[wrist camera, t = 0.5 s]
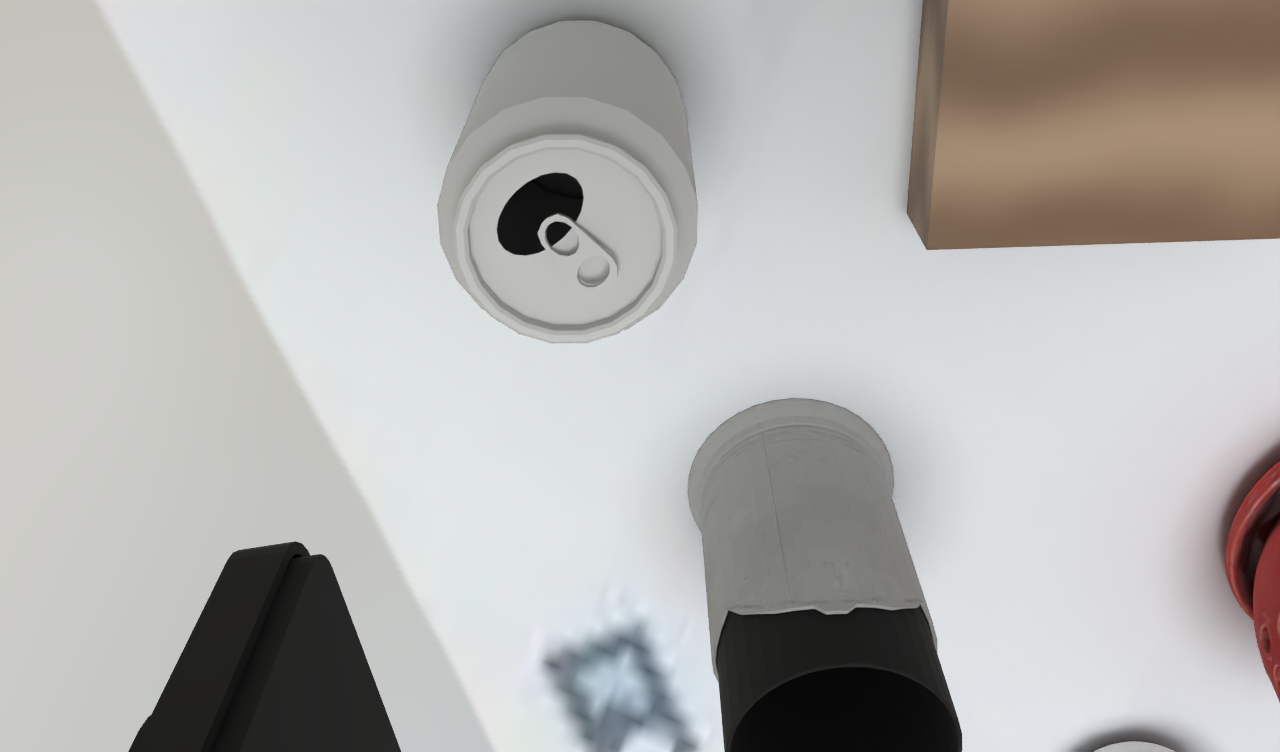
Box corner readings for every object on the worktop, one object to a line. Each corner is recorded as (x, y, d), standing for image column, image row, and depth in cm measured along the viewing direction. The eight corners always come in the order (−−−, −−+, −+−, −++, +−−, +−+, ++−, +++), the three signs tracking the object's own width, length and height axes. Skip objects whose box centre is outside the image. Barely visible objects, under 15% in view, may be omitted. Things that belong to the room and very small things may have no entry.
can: (578, -33, 41) (558, 53, 30) (728, 119, 44) (758, 247, 33) (435, 119, 44) (371, 247, 33) (585, 255, 46) (570, 413, 36)
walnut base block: (935, -199, 39) (965, -191, 35) (1371, -216, 39) (1444, -209, 35) (904, 208, 46) (926, 249, 42) (1275, 196, 46) (1329, 236, 42)
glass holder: (899, 394, 49) (995, 642, 36) (882, 660, 56) (957, 950, 43) (684, 403, 49) (702, 653, 36) (693, 667, 56) (711, 958, 43)
